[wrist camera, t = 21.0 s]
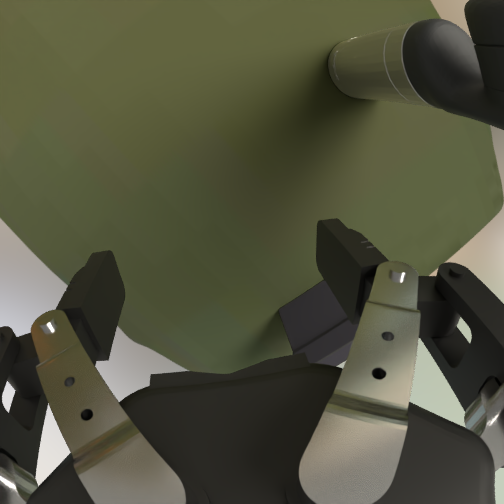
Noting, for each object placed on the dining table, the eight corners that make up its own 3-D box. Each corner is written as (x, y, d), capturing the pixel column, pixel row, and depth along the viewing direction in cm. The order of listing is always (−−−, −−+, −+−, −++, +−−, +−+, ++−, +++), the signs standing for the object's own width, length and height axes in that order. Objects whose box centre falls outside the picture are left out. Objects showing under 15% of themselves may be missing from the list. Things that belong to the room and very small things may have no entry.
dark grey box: (287, 320, 54) (311, 384, 41) (275, 307, 52) (298, 372, 39) (338, 288, 53) (374, 345, 40) (328, 273, 51) (366, 331, 38)
